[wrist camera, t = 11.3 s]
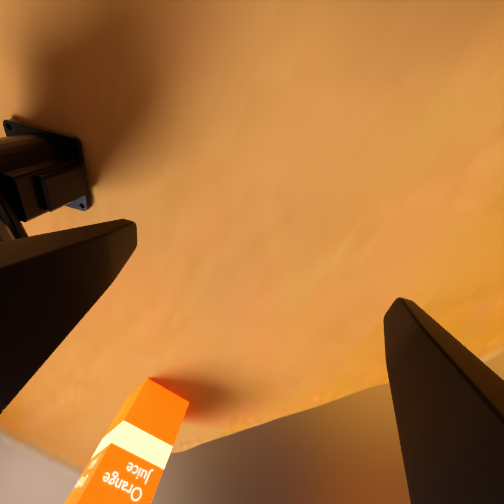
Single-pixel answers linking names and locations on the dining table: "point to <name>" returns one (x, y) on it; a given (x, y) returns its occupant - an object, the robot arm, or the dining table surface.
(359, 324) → the dining table surface
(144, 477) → the orange juice
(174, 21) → the dining table surface
